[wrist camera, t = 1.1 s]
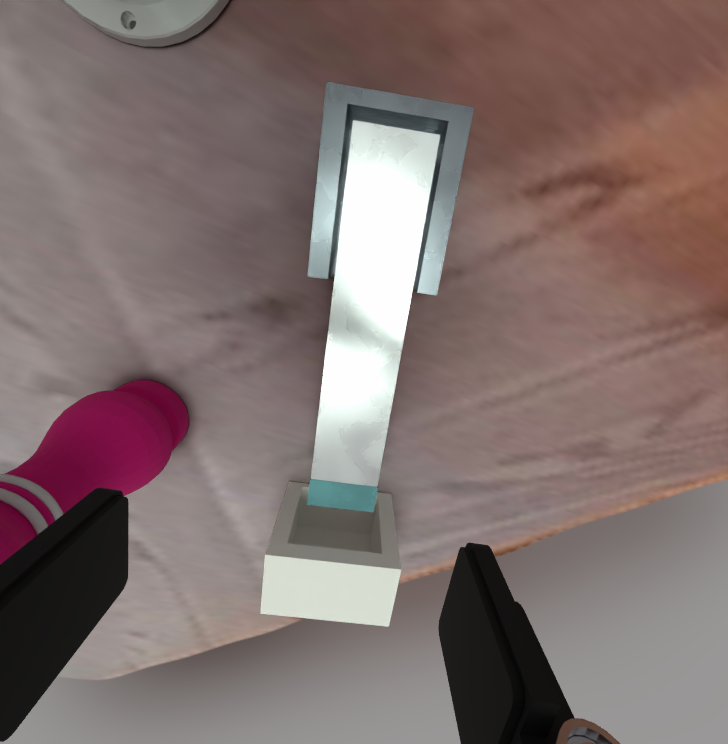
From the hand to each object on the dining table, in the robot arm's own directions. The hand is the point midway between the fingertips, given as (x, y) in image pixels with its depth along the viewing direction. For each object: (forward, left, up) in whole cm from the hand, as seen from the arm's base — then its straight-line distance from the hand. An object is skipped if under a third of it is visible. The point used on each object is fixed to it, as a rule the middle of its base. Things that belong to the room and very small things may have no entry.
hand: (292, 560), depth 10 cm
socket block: (+13, +2, -19) cm, 23 cm away
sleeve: (-11, +2, -19) cm, 22 cm away
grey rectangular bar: (-3, +2, -18) cm, 19 cm away
